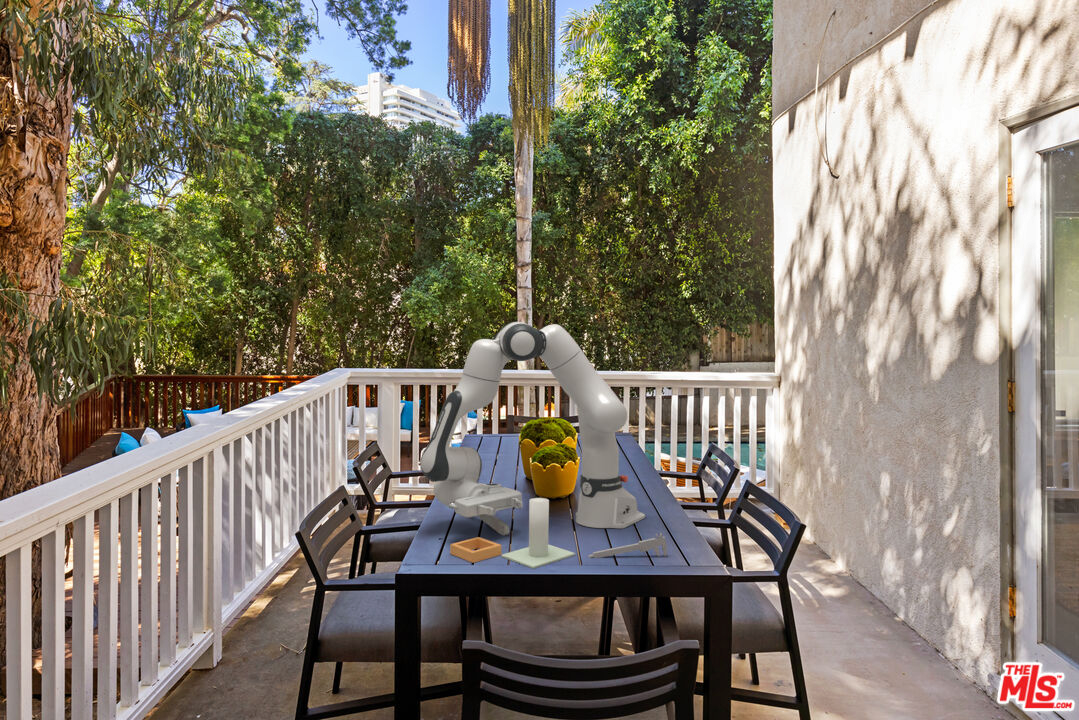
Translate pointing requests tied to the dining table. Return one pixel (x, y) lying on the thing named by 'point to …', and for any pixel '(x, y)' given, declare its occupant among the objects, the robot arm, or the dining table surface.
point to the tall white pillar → (538, 527)
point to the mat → (534, 562)
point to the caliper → (635, 547)
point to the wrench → (495, 523)
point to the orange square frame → (467, 553)
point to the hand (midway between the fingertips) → (507, 508)
